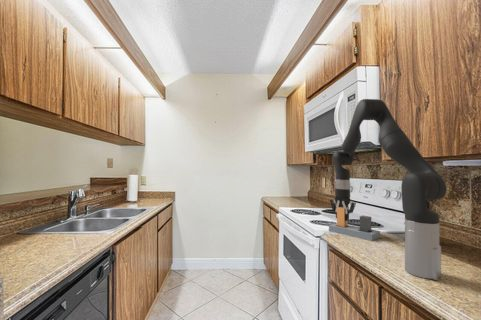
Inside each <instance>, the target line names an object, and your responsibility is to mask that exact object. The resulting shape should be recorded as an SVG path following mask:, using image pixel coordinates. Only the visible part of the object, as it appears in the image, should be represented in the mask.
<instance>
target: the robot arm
mask: <svg viewBox="0 0 481 320" xmlns="http://www.w3.org/2000/svg"><path fill="white" fill-rule="evenodd" d="M363 121H375V122H376V123H377V124H378V126H379V128H380V129H379V133H378V143H379V145H380V147H381V148H382V150H383V152H384V153H385V154H386V156H388V157H389V158H390V159H392V160H393V161H394V162H396V163H397V164H398V165H401V166H402V167H403V168H405V169H406V170H407V171H408V173H406V174H405V175H404V176H403V178H402V180H401V202H402V203H401V205H402V211H403V213H404V222H405V224H404V270H405V272H407V273H408V274H410V275H413V276H414V277H415V276H416V277H419V278H423V279H429V280H435V281H437V280H438V279H439V278H440V277H441V276H442V246H441V245H440V215H439V214H438V213H437V212H435V211H433V210H430V209H429V208H428V204H427V201H439V200H441V199H443V198H444V197H445V196H446V194H447V184H446V182H445V180H444V178H443V176H441V175H440V173H439V172H438V171H437V170H436V169H435V168H434V167H433V166H432V165H431V164H430V163H429V162H428V161H427V160H426V159H425V157H423V156H422V154H421V153H420V151H419V150H418V149H417V148H416V147H415V145H414V144H413V142H412V141H411V140H410V139H409V136H407V134H406V133H405V132H404V131H403V129H402V128H401V127H400V125H399V124H398V122H397V120H395V119H394V117H393V115H392V114H391V112H390V109H389V107H388V106H387V104H386V102H384V101H383V100H382V99H377V98H363V99H361V100H359V102H358V103H357V105H356V106H355V110H354V112H353V115H352V118H351V122H350V126H349V128H348V131H347V134H346V136H345V138H344V140H343V142H342V144H341V150H342V151H341V150H336V151H335V152H334V151H333V154H332V163H333V165H334V168H335V182H334V183H335V185H334V187H335V188H334V189H335V190H334V193H335V194H334V195H335V197H334V199H329V202H330V207H331V209H332V211H334V212H335V218H336V219H337V207H344V208H345V213H346V214H345V221H348V222H349V220H350V214H353V212H354V210H355V207H356V204H357V203H356V202H354V201H352V200H351V171H350V169H349V168H346V167H345V168H344V167H343V165H349V164H350V165H351V164H352V163H353V162H354V158H355V154H356V150H357V148H358V146H359V145H360V143H361V140H362V134H361V133H362V132H361V125H362V123H363ZM349 206H350V207H349ZM346 207H347V208H346Z"/></svg>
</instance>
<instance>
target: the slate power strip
mask: <svg viewBox="0 0 481 320" xmlns="http://www.w3.org/2000/svg"><path fill="white" fill-rule="evenodd" d="M328 231H329V232H332V233H336V234H340V235H345V236H348V237H353V238H358V239H362V240H367V241H370V242H373V241H375V240H377V239H380V238H381V231H380V230H376V229H372V216H370V215H369V216H367V215H360V216H359V226H357V225H350V224H348V226H346V227H341V226H337V222H336V223H333V224H329V225H328Z"/></svg>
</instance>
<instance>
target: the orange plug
mask: <svg viewBox="0 0 481 320" xmlns="http://www.w3.org/2000/svg"><path fill="white" fill-rule="evenodd" d="M346 208H347V207H346ZM345 214H346V213H345V208H344V207H337V218H336V223H337V226H341V227H346V226H348V225H349V220H348V221H345Z"/></svg>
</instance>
